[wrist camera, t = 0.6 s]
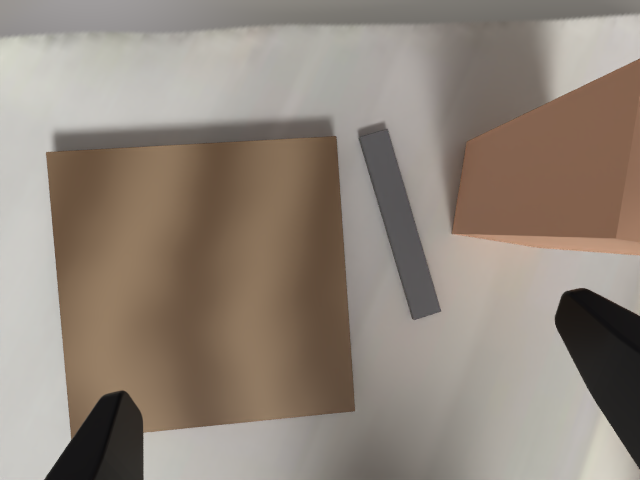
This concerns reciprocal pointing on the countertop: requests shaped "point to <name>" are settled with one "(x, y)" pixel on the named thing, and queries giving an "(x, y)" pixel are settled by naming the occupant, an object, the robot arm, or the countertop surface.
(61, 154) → the pad
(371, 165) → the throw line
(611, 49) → the countertop surface
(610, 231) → the terracotta block
